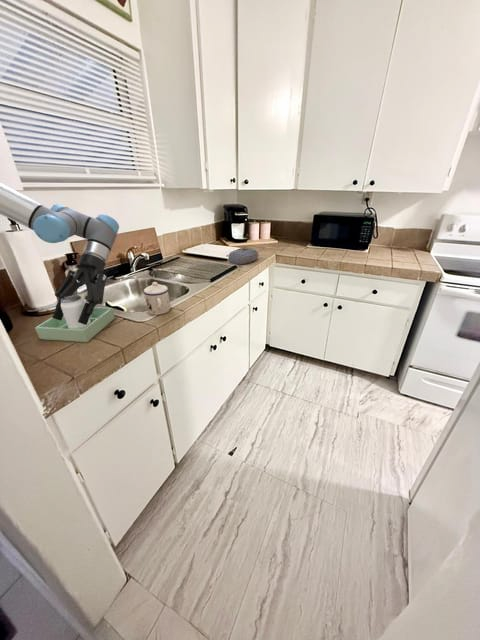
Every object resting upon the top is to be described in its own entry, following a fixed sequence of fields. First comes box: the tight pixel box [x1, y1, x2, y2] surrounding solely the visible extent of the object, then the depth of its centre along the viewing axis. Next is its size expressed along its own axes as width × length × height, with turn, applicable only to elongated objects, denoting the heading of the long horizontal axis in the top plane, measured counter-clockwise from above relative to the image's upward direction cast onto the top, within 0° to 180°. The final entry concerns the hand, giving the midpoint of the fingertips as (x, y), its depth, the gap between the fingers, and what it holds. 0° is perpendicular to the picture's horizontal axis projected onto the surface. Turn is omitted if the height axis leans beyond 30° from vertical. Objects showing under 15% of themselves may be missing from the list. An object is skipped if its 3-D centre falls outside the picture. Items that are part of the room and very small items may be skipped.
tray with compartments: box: [34, 306, 116, 343], centre depth 90 cm, size 17×17×4 cm
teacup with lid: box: [143, 281, 171, 316], centre depth 100 cm, size 12×9×12 cm
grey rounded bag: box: [228, 247, 259, 265], centre depth 166 cm, size 15×8×20 cm
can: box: [61, 294, 91, 330], centre depth 84 cm, size 6×6×12 cm
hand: (69, 321), depth 81 cm, fingers open, 9 cm apart
